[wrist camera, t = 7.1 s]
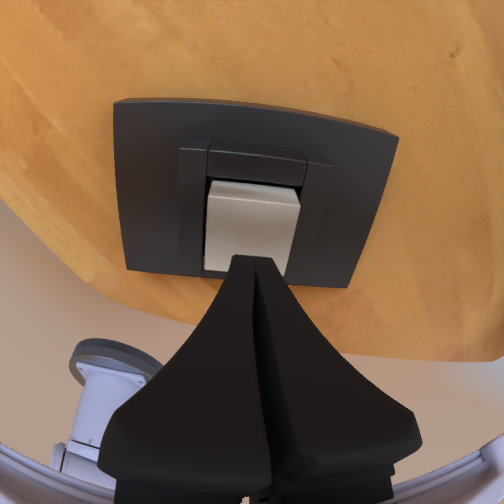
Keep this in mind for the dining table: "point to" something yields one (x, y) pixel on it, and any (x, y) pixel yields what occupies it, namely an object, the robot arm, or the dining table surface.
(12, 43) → the dining table surface
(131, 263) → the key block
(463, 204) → the dining table surface
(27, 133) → the dining table surface
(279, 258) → the ivory key
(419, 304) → the dining table surface
